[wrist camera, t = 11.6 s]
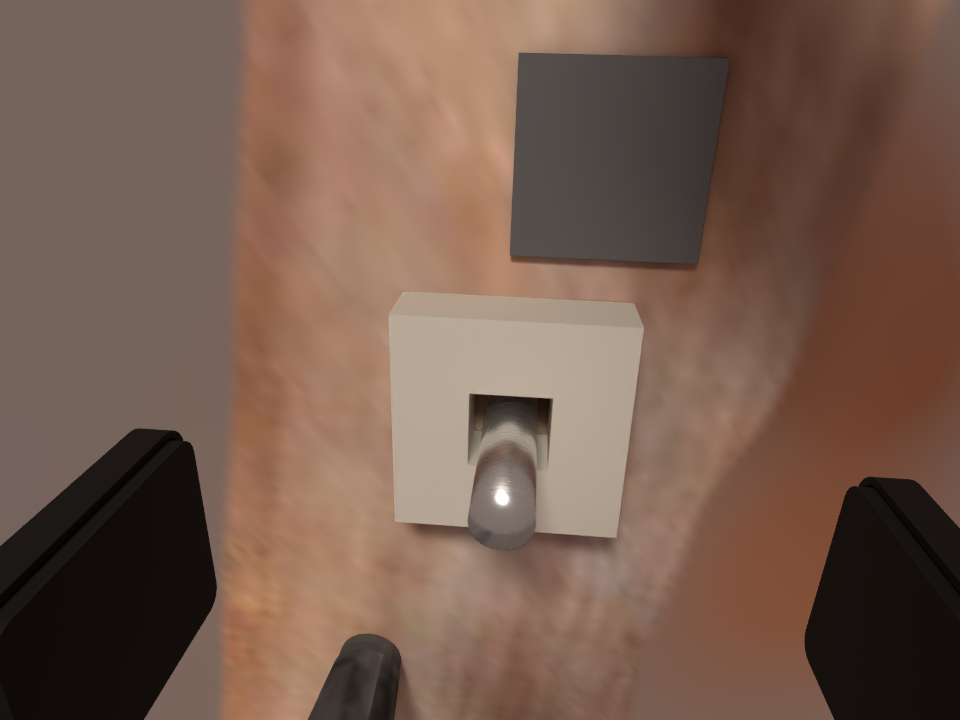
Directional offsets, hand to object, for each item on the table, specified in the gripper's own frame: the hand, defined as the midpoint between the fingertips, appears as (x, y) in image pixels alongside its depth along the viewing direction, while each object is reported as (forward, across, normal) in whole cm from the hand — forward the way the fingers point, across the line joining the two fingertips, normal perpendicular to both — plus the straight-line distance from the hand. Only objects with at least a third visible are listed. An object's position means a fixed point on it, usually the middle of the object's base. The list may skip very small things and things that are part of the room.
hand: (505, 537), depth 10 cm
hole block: (+28, +1, +12) cm, 31 cm away
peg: (+28, 0, +12) cm, 31 cm away
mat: (+28, -4, -2) cm, 29 cm away
